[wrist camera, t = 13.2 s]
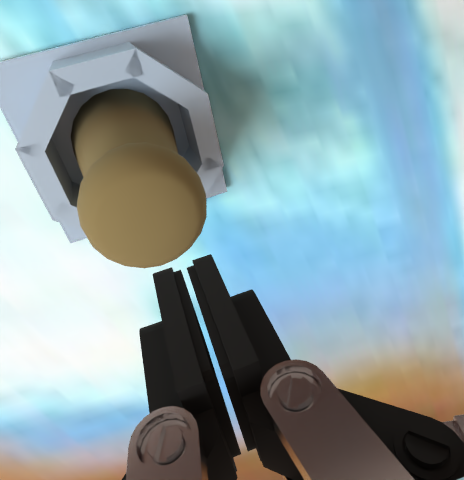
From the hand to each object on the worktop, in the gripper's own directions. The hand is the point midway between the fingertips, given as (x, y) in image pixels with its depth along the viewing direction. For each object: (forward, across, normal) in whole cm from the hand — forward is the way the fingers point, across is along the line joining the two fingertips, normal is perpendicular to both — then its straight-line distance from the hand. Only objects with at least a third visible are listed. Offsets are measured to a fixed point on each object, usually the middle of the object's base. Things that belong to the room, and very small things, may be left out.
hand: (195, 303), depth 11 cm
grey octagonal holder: (+16, +1, 0) cm, 17 cm away
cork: (+16, +1, 0) cm, 16 cm away
